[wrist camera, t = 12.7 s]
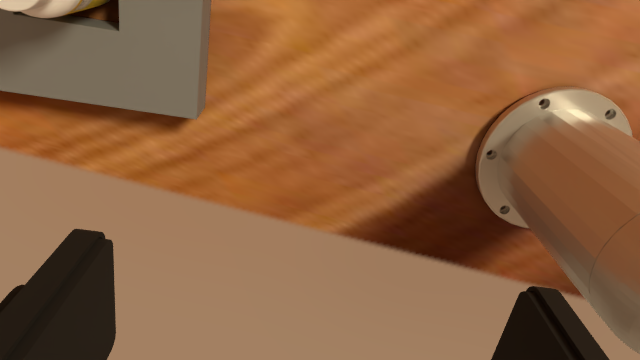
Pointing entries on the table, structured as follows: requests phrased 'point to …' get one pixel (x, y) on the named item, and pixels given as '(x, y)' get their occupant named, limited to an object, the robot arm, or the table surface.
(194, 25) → the socket board
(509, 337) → the robot arm
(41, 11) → the supplement bottle
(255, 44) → the table surface
